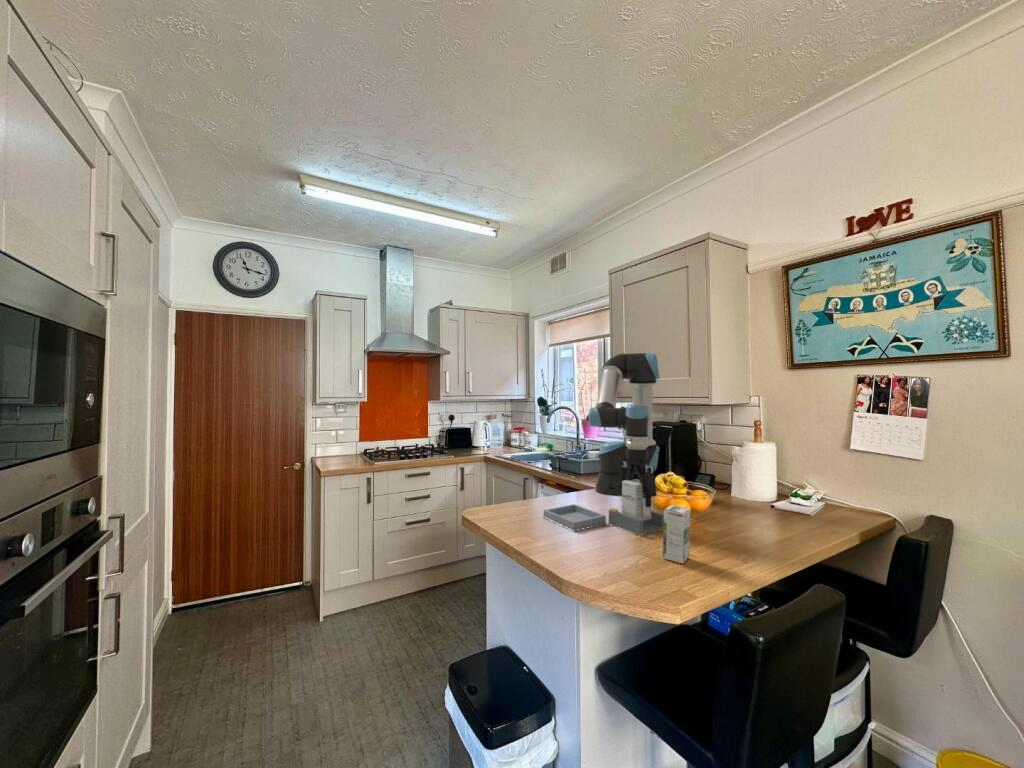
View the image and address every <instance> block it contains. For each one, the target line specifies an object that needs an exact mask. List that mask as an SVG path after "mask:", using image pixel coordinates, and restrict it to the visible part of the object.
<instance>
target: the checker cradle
mask: <svg viewBox="0 0 1024 768" xmlns="http://www.w3.org/2000/svg"><path fill="white" fill-rule="evenodd" d="M610 524H612V525H611V526H613V525H615V526H617V527H616V528H618V527H620V528H623V529H625V530H628V531H631V532H633V533H636V534H639V535H641V534H645V533H649V534H651V533H650V532H652V533H655V532H654V531H656V532H658V530H660V531H662V530H661V529H663V530H664V513H662V512H658V511H655V510H652V509H651V519H647V520H641V519H638V518H635V517H632V516H629V515H627V514H624V513H622V511H619V509H618V508H614V507H610V509H608V525H610ZM615 526H614V527H615ZM620 528H619V529H620ZM623 529H622V530H623ZM625 530H624V531H625ZM628 531H627V532H628ZM631 532H630V533H631ZM633 533H632V534H633ZM636 534H635V535H636ZM645 535H646V534H645Z"/></svg>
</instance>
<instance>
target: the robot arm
mask: <svg viewBox="0 0 1024 768" xmlns="http://www.w3.org/2000/svg"><path fill="white" fill-rule="evenodd" d="M599 374H600V375H599V376H600V378H601V379H600V386H599V390H598V395H597V400H596V405H595V406H594V407H590V408H589V409H588V418H587V419H588V420H587V421H588V425H589V426H590V427H596V428H614V429H615V428H616V429H617V428H618V429H619V428H620V429H625V441H624V440H614V441H613V440H612V441H606V442H603V443H601V444H600V445H599V453H598V455H599V456H598V457H599V462H598V463H599V467H598V468H599V471H598V473H599V475H598V477H597V481H596V484H595V492H597V493H599V494H603V495H609V496H620V495H621V496H622V481H625V480H627V481H628V480H633V479H634V477H635V475H636V476H637V479H638V480H640V482H641V484H642V489H643V492H644V497H643V516H644V517H645V516H649V515H650V507H651V508H652V498H653V497H657V489H656V488H657V487H656V480H655V472H656V470H657V467H658V461H659V454H660V453H659V452H660V446H658V445H657V442H656V440H654V439H653V392H654V391H653V388H654V386H655V385H656V384H657V380H659V379H660V373H659V362H658V357H657V355H656V354H655V353H652V352H640V353H639V352H638V353H619V354H616V355H613V356H612V357H611V358H609V359H608V360H607V361H606V362H605V363H604V364H603V366H602V367H601V369H600V373H599ZM621 380H628V382H629V385H631V386H632V403H630V404H629V403H628V404H627V405H626V407H617V400H618V393H619V392H618V391H619V385H620V382H621Z"/></svg>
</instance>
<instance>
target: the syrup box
mask: <svg viewBox="0 0 1024 768" xmlns="http://www.w3.org/2000/svg"><path fill="white" fill-rule="evenodd" d="M663 514H664V529H663V530H662V531H663V533H662V535H663V536H662V537H663V538H662V539H663V540H662V558H663V557H664V558H668V559H671V560H675V561H678V562H684V561H685V560H686V559H687V558H688V557H689V558H690V536H691V534H690V533H691V509H690V508H688V507H684V506H680V505H669V506H668V507H666V508H664V510H663Z"/></svg>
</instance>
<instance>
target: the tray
mask: <svg viewBox="0 0 1024 768" xmlns="http://www.w3.org/2000/svg"><path fill="white" fill-rule="evenodd" d="M544 516H545V517H547V518H549V519H551V520H553V521H555V522H557V523H559V524H562V525H563V526H566V527H568V528H570V529H572V530H577V529H582V528H587V527H591V526H595V527H597V526H596V525H600V526H602V525H601V524H604V525H606V523H607V522H606V520H607V518H606V517H607V515H606V514H602V513H599V512H597V511H593V510H592V509H588V508H586V507H583V506H580V505H577V504H574V503H573V504H569V505H564V506H563V505H562V506H558V507H553V508H547V509H543V517H544ZM591 528H592V527H591ZM587 529H588V528H587Z"/></svg>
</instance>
